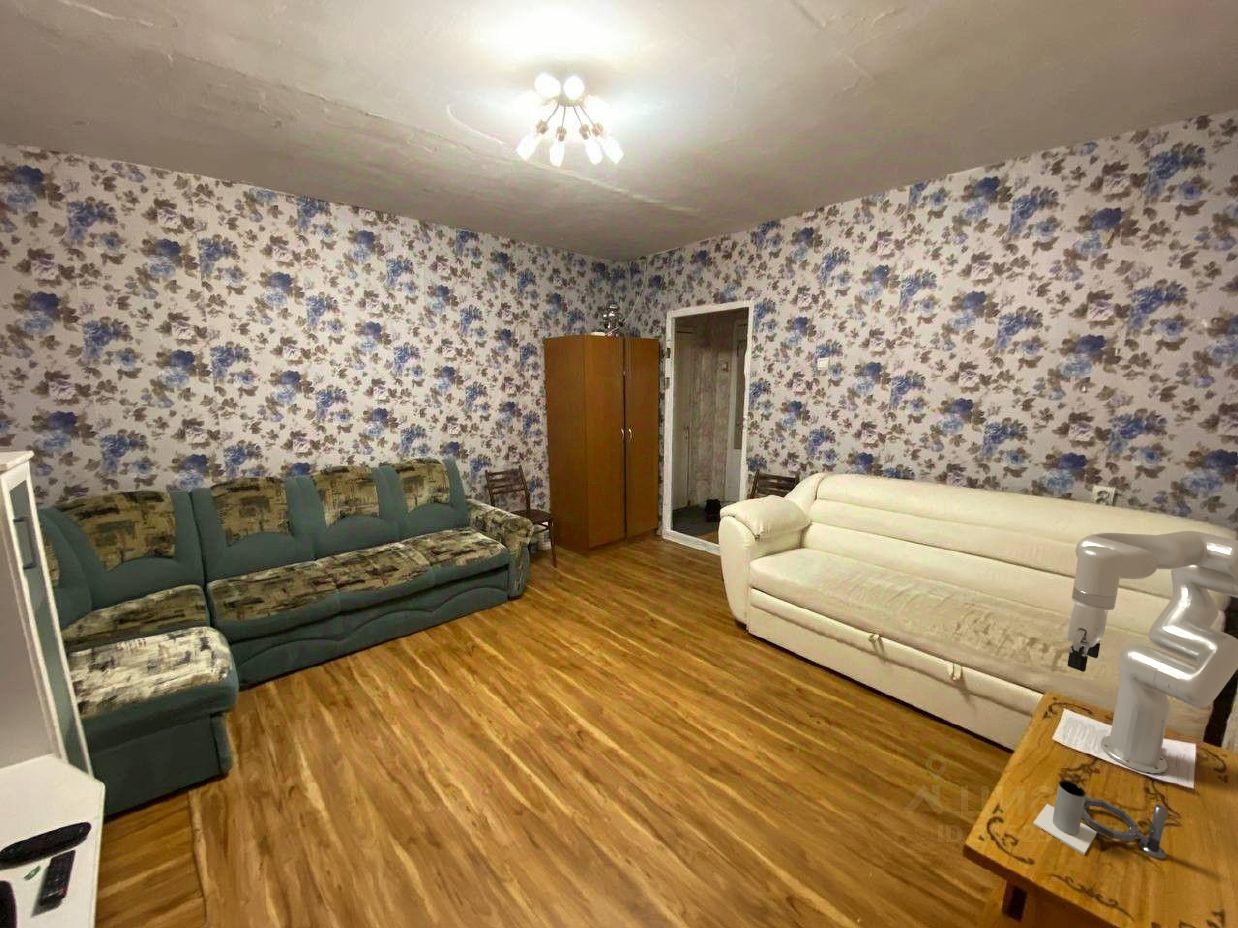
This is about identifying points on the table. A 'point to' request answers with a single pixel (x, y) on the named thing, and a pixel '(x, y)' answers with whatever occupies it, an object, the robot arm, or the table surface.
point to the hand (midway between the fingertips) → (1082, 661)
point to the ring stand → (1131, 827)
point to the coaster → (1073, 841)
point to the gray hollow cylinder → (1068, 807)
